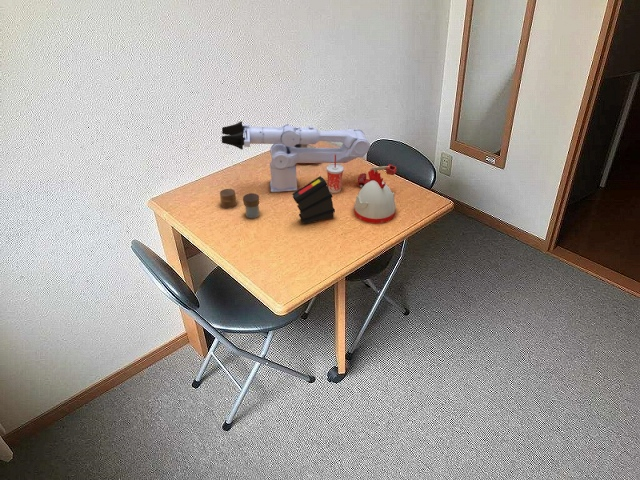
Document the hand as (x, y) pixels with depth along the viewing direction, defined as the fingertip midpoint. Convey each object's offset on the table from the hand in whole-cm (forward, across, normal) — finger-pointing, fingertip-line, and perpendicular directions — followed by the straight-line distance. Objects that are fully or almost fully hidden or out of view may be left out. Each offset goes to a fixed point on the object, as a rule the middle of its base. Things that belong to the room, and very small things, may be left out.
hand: (221, 135), depth 165 cm
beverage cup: (-40, +5, +19) cm, 44 cm away
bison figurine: (-57, -22, -10) cm, 62 cm away
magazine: (-30, +24, +20) cm, 43 cm away
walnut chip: (-9, +18, +16) cm, 26 cm away
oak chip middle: (-2, +10, +19) cm, 21 cm away
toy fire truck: (-55, +6, +18) cm, 58 cm away
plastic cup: (-10, +18, +21) cm, 29 cm away
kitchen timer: (-50, +22, +18) cm, 58 cm away
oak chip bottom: (-2, +10, +21) cm, 24 cm away
